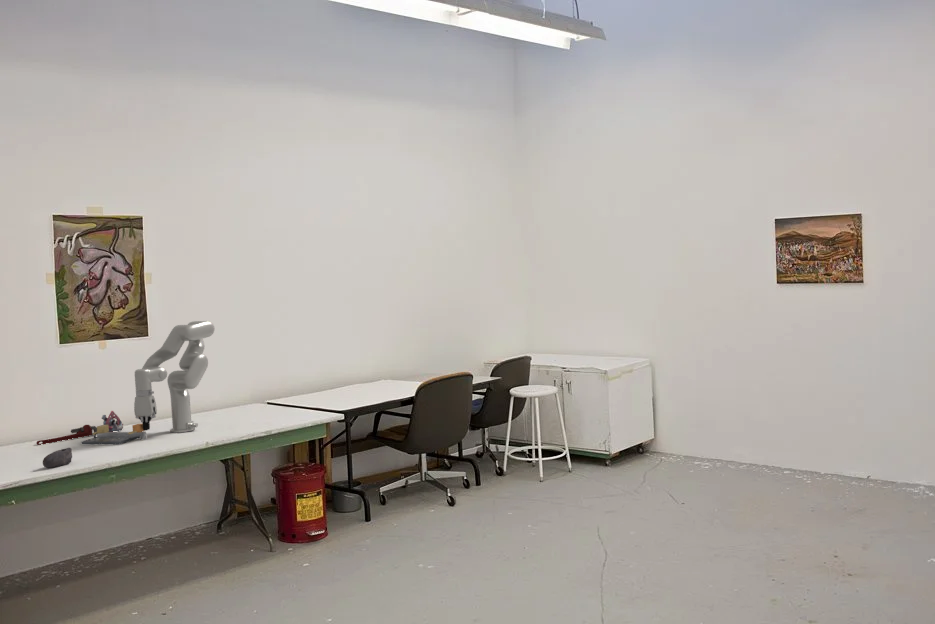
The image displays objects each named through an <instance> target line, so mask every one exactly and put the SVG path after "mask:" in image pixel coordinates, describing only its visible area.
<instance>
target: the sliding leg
mask: <svg viewBox="0 0 935 624" xmlns="http://www.w3.org/2000/svg"><path fill="white" fill-rule="evenodd" d="M131 426H132V431H128V432H129V433H128V434H129V438H131V434H132V433H136V432H146V430H143V424H142V423H135V424H132V425H131Z"/></svg>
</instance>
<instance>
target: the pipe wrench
mask: <svg viewBox="0 0 935 624" xmlns="http://www.w3.org/2000/svg"><path fill="white" fill-rule="evenodd" d="M94 432H97V426H95V425H92V426H91V425H90V424H84V425H83V426H81V427H78V428H73V429H71V430H70V433H71V434H67V435H63V436H58V437H54V438H47V439H41V440H37V441H36V444H35V445H37V446H42V445H41V444H43V445H47V444H46V443H49V444H52V442H54V443H58V442H57V441H60V442H63V441H62V440H65V441H69V440H68V439H71V440H73V439H72V438H77V439H79V438H78V437H82V438H85V437H84V436H88V437H90V436H89V435H93V433H94Z"/></svg>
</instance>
